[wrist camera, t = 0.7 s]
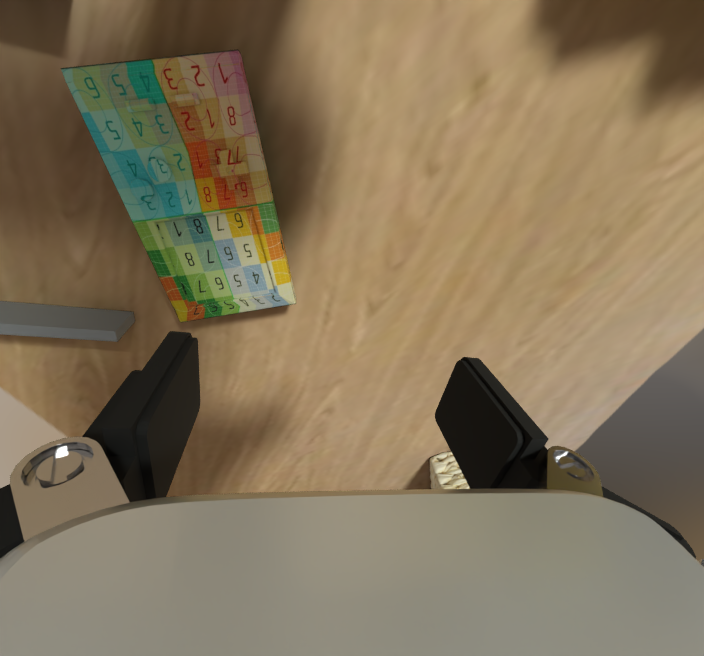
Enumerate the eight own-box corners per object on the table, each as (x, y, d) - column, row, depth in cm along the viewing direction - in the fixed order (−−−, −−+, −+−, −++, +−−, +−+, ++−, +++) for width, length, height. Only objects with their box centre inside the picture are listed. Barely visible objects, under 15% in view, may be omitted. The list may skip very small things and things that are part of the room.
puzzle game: (235, 46, 21) (295, 308, 32) (245, 60, 25) (296, 288, 35) (51, 65, 20) (177, 327, 31) (91, 77, 24) (191, 305, 35)
